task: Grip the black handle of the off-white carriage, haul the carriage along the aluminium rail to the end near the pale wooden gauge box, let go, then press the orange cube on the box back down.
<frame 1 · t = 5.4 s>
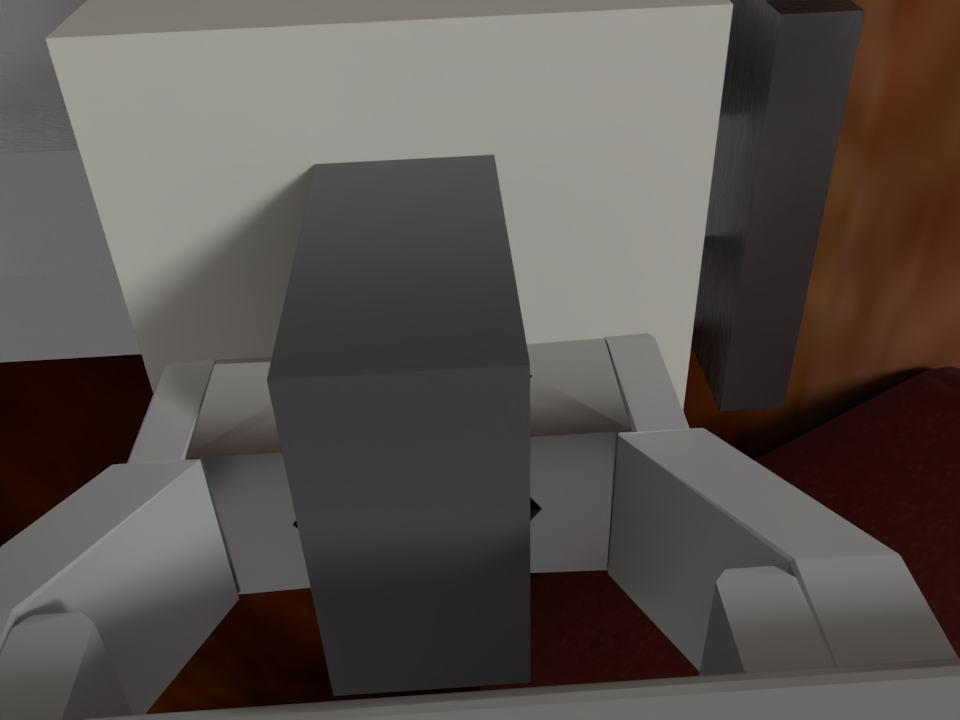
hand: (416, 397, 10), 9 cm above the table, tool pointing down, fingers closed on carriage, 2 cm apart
rail: (32, 131, 17), on the table
carriage: (417, 289, 12), point 6 cm above the table, slide at 7.0 cm, touching gripper
plant pot: (806, 600, 26), on the table
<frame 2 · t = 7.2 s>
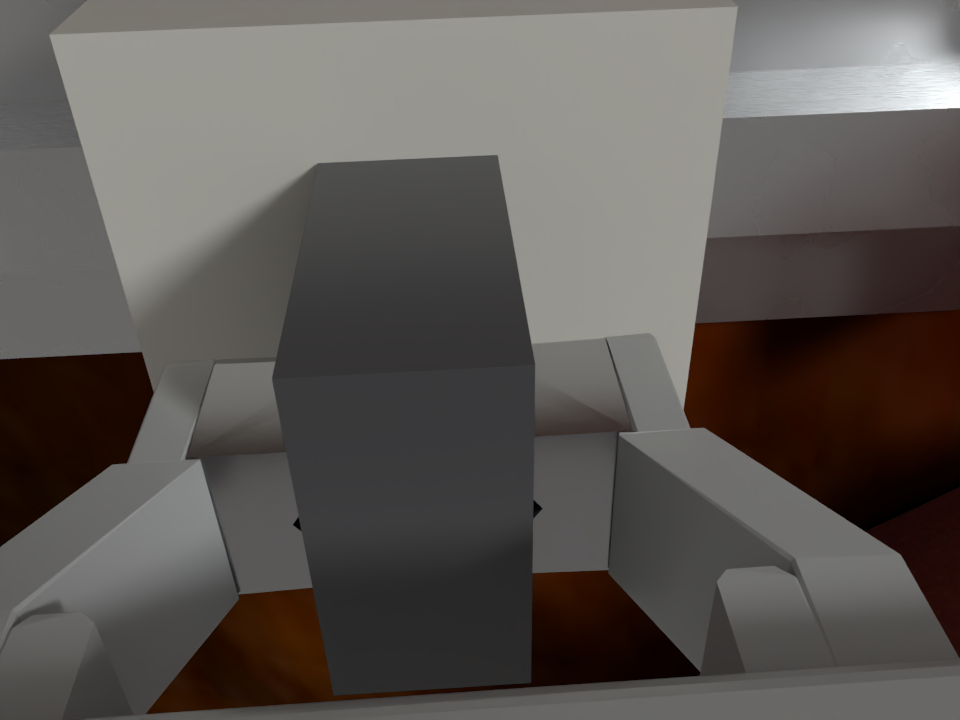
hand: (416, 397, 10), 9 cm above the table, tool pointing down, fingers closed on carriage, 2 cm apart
rail: (433, 110, 17), on the table
carriage: (419, 289, 12), point 6 cm above the table, slide at -0.3 cm, touching gripper
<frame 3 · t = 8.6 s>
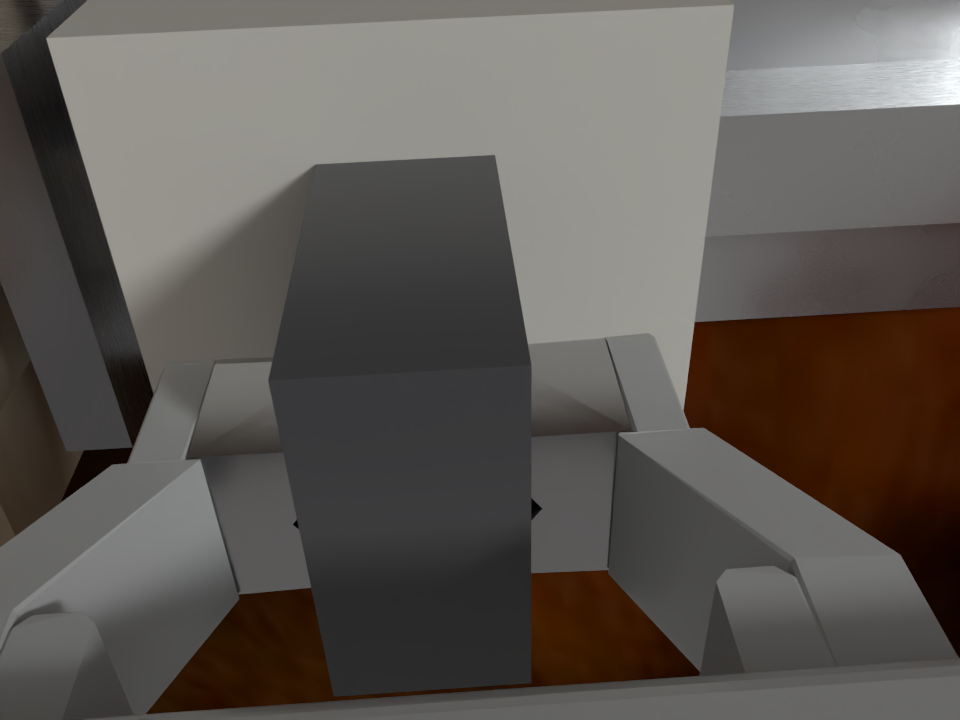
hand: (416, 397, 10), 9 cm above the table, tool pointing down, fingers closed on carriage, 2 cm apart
rail: (788, 93, 17), on the table
carriage: (418, 290, 12), point 6 cm above the table, slide at -6.9 cm, touching gripper
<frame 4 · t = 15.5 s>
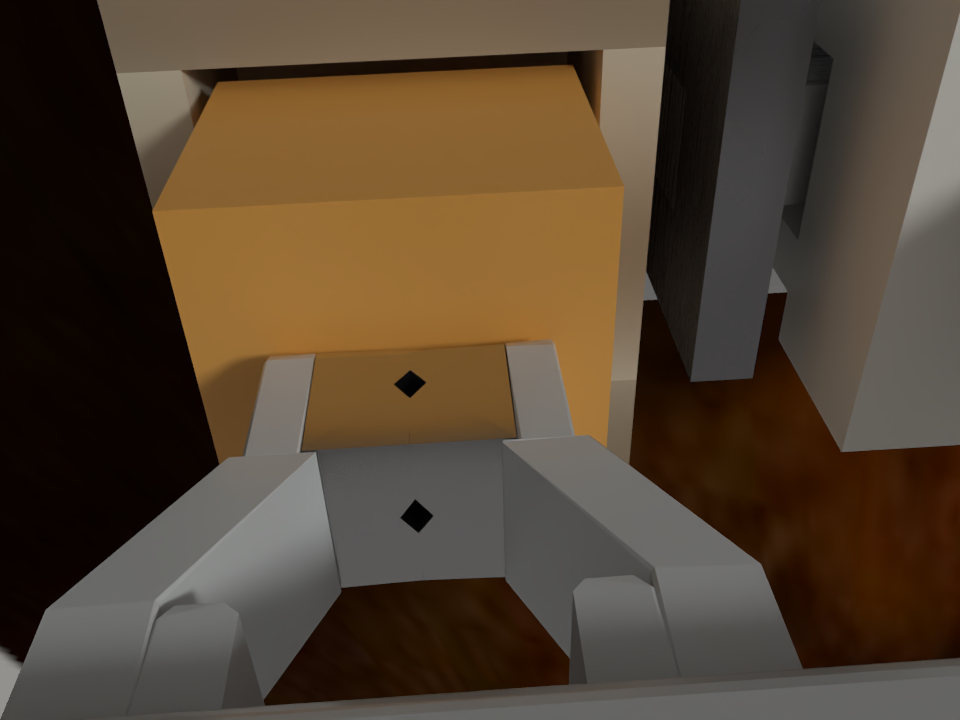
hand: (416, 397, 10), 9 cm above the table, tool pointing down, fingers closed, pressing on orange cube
orange cube: (408, 298, 11), point 7 cm above the table, slide at 2.3 cm, touching gripper
gauge box: (411, 89, 17), on the table
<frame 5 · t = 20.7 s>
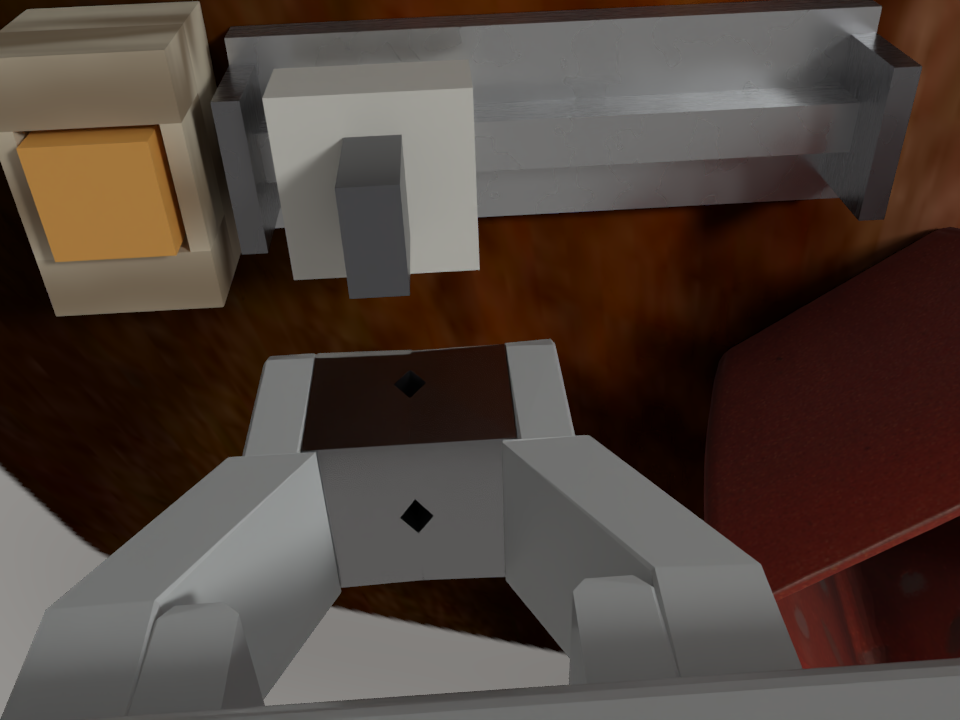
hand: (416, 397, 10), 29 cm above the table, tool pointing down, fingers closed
rail: (550, 110, 38), on the table
orange cube: (112, 183, 34), point 5 cm above the table, slide at 0.0 cm
gauge box: (145, 130, 38), on the table
carriage: (378, 183, 33), point 6 cm above the table, slide at -7.0 cm
plant pot: (871, 371, 48), on the table
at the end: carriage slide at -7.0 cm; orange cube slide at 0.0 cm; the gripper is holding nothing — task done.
